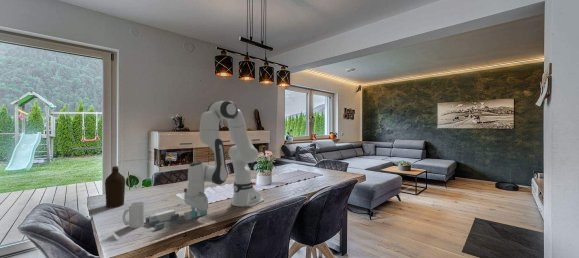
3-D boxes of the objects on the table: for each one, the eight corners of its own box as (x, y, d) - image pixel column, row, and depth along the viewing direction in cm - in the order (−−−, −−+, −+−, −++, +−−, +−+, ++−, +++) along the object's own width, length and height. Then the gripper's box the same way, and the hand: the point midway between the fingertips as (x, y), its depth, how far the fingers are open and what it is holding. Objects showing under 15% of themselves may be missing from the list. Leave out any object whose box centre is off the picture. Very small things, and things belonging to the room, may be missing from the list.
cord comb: (172, 216, 139) (172, 210, 139) (184, 223, 130) (184, 217, 130) (145, 224, 129) (145, 217, 129) (156, 232, 119) (156, 225, 119)
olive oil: (128, 204, 159) (128, 166, 158) (109, 209, 149) (109, 168, 149) (120, 201, 164) (120, 164, 164) (101, 206, 155) (101, 166, 154)
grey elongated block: (172, 216, 137) (172, 209, 137) (175, 218, 135) (175, 210, 135) (149, 222, 128) (149, 215, 128) (151, 224, 126) (151, 216, 126)
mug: (139, 223, 129) (140, 201, 129) (147, 226, 126) (147, 203, 126) (118, 230, 121) (119, 206, 120) (126, 233, 117) (126, 209, 117)
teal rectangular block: (204, 214, 144) (204, 207, 144) (207, 215, 142) (207, 208, 142) (184, 220, 134) (184, 212, 134) (186, 221, 132) (186, 214, 132)
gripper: (211, 193, 133) (211, 218, 134) (192, 186, 147) (192, 209, 147) (200, 195, 129) (200, 221, 129) (182, 188, 142) (182, 212, 142)
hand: (196, 214), depth 138 cm, fingers closed on teal rectangular block, 3 cm apart
